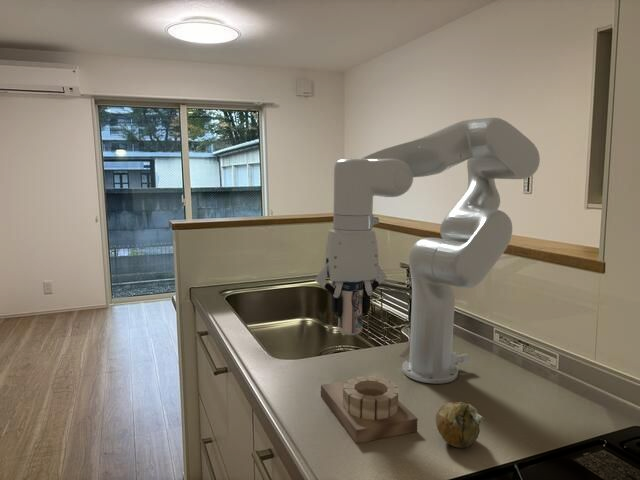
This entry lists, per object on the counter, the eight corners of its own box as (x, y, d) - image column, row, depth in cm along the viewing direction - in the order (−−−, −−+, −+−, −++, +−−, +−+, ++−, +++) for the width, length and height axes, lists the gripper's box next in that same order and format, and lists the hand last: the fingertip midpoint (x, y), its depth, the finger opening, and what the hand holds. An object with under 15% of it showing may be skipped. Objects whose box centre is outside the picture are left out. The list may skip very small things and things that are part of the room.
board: (373, 387, 102) (373, 361, 101) (416, 431, 86) (418, 400, 85) (320, 396, 98) (321, 368, 97) (356, 443, 82) (356, 410, 81)
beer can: (359, 337, 92) (361, 277, 90) (335, 335, 93) (336, 275, 91) (364, 329, 97) (365, 272, 95) (341, 327, 98) (342, 270, 96)
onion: (477, 432, 86) (480, 390, 84) (482, 458, 78) (485, 412, 77) (434, 426, 87) (436, 385, 86) (434, 451, 80) (437, 407, 78)
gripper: (385, 220, 97) (382, 306, 100) (305, 222, 93) (304, 312, 96) (401, 224, 90) (397, 317, 93) (315, 227, 86) (314, 323, 88)
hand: (350, 313), depth 94 cm, fingers closed on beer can, 4 cm apart
